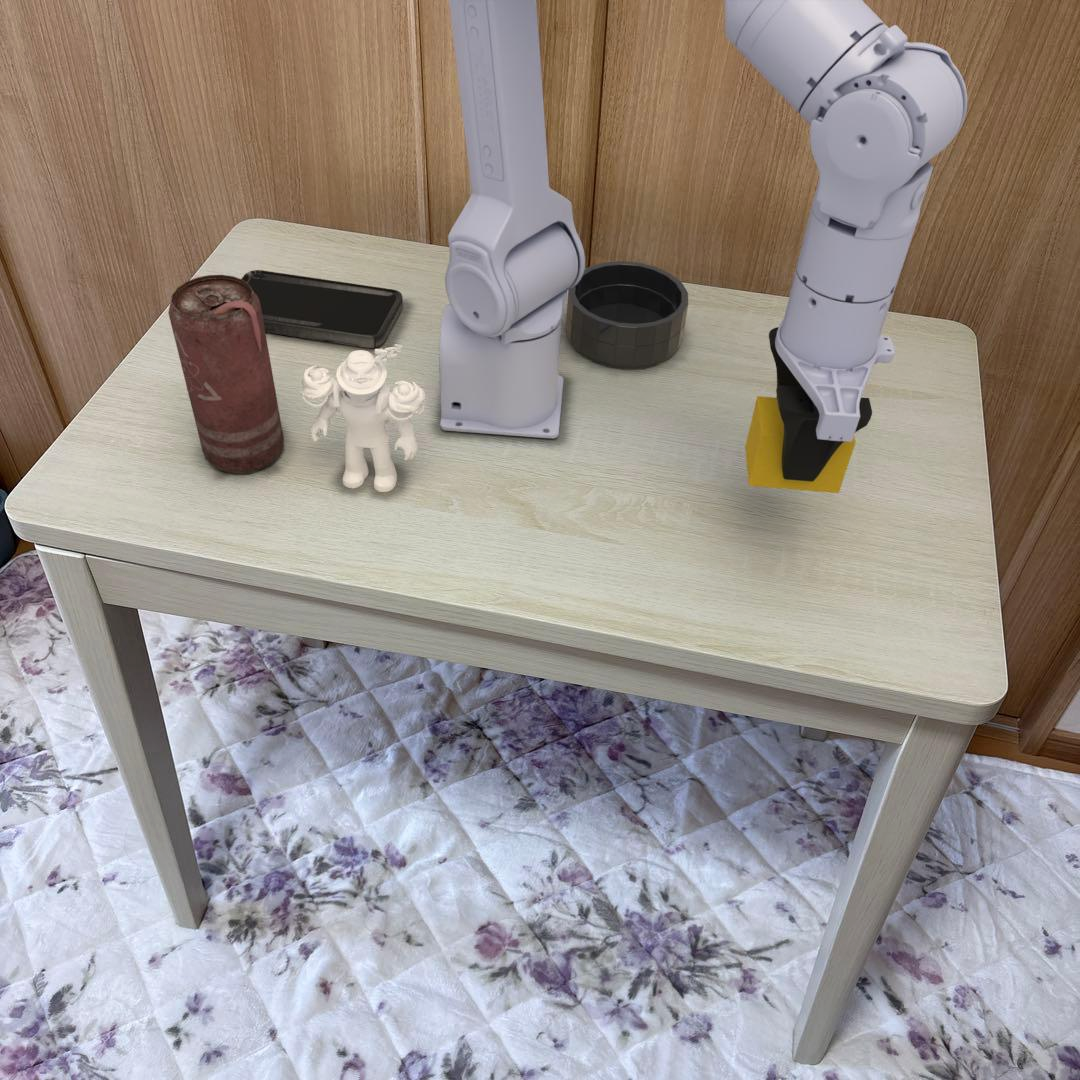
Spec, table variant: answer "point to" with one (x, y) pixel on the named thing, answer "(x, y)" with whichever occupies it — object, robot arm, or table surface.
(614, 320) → the bowl
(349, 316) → the phone
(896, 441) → the table surface
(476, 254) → the robot arm
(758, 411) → the sponge
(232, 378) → the can
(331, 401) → the flower shoulder figurine
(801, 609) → the table surface
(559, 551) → the table surface
